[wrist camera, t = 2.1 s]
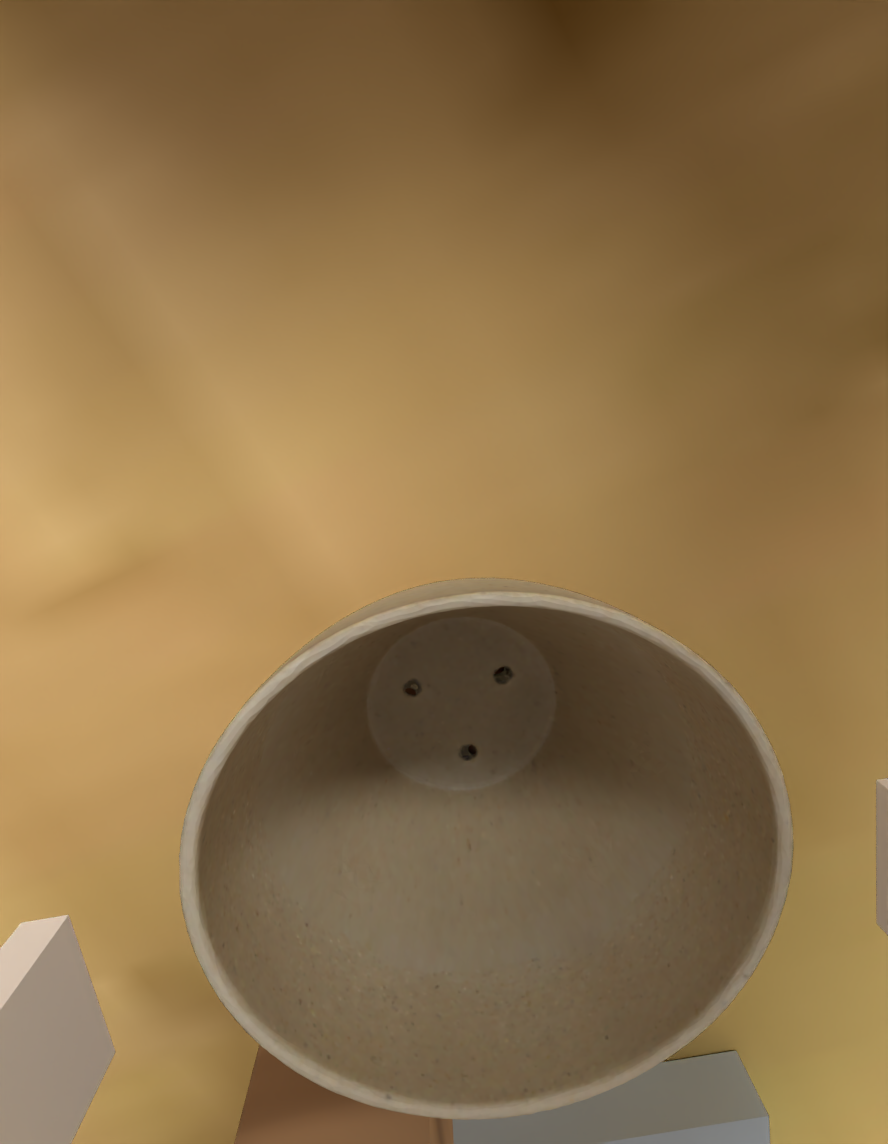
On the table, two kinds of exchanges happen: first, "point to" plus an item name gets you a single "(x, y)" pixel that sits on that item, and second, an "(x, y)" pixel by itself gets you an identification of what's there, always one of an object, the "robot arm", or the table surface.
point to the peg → (323, 1114)
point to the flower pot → (485, 851)
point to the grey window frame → (645, 1111)
